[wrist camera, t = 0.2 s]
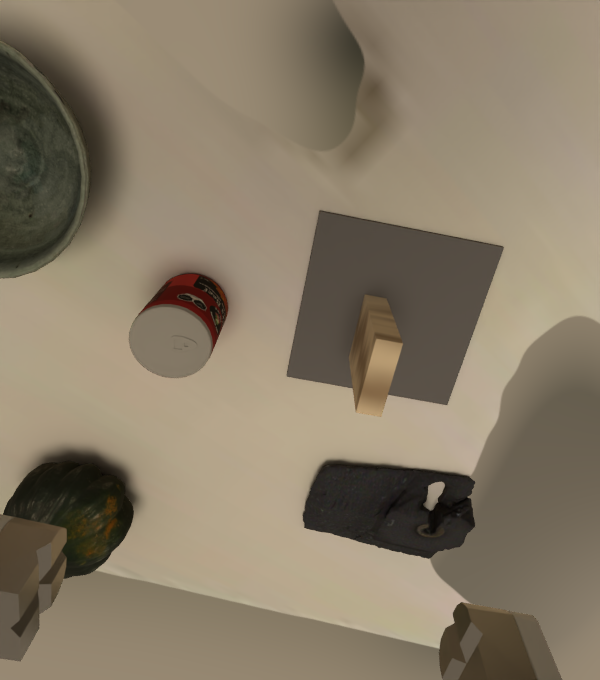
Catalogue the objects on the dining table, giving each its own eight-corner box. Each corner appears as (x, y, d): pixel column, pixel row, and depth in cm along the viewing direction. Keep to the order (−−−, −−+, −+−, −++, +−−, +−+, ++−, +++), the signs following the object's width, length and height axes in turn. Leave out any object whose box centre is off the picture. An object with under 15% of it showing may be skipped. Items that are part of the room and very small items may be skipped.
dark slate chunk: (323, 440, 67) (324, 463, 63) (483, 476, 69) (494, 501, 64) (295, 526, 73) (294, 552, 69) (442, 557, 75) (450, 585, 71)
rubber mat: (319, 210, 54) (319, 211, 54) (502, 246, 55) (503, 247, 55) (286, 374, 63) (286, 376, 62) (446, 403, 64) (447, 405, 63)
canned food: (236, 327, 60) (220, 372, 50) (171, 339, 61) (142, 385, 51) (219, 265, 57) (198, 299, 47) (150, 278, 58) (116, 314, 48)
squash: (147, 567, 69) (84, 585, 55) (45, 575, 71) (-42, 594, 57) (147, 459, 73) (89, 450, 59) (51, 469, 75) (-28, 463, 61)
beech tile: (364, 294, 58) (376, 338, 47) (386, 298, 58) (403, 343, 47) (348, 357, 61) (356, 412, 50) (369, 360, 61) (381, 416, 50)
